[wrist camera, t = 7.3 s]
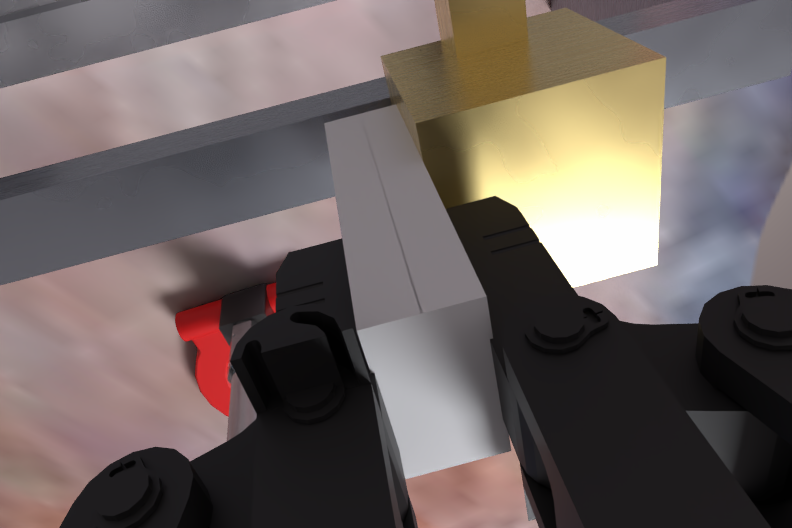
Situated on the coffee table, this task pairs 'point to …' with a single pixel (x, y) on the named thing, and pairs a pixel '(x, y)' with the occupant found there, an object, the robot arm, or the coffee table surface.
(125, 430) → the coffee table surface
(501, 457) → the coffee table surface
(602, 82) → the slider block
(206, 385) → the tow hook
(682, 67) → the dividers beam
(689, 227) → the coffee table surface
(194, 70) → the coffee table surface
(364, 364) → the robot arm
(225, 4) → the flange plate
